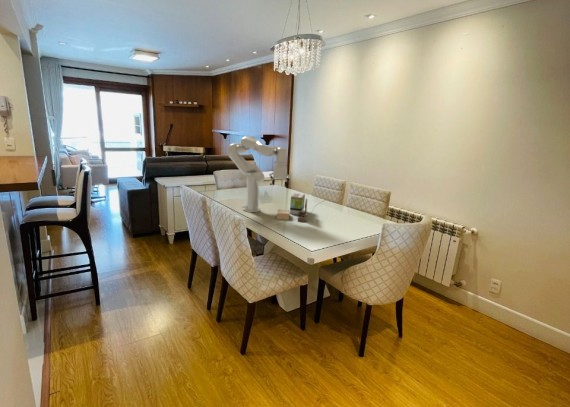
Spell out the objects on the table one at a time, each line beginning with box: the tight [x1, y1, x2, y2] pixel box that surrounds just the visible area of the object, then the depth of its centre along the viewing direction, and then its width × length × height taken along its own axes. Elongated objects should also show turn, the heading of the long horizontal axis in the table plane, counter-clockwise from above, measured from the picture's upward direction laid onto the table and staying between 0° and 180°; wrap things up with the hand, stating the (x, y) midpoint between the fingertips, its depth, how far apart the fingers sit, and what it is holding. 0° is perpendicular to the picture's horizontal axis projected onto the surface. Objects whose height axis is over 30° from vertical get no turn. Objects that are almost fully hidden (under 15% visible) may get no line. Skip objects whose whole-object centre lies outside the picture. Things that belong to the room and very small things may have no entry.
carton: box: [276, 208, 290, 221], centre depth 242 cm, size 9×12×5 cm
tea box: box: [289, 192, 306, 216], centre depth 257 cm, size 15×10×15 cm, turn 168°
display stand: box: [297, 198, 308, 223], centre depth 240 cm, size 6×19×14 cm, turn 175°
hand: (279, 185), depth 239 cm, fingers open, 9 cm apart
